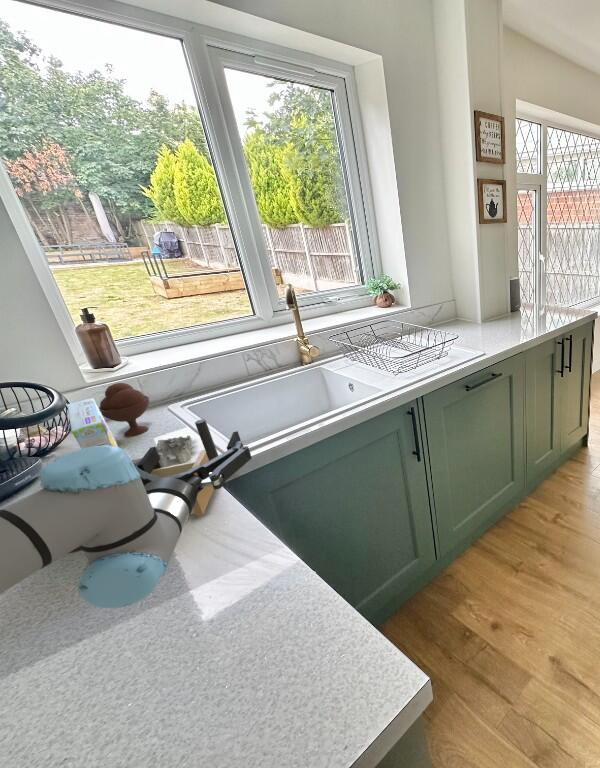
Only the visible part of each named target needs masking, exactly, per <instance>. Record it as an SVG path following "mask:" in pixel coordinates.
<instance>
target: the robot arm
mask: <svg viewBox="0 0 600 768" xmlns="http://www.w3.org/2000/svg"><path fill="white" fill-rule="evenodd" d="M141 458H142V459H141ZM141 458H140V459H141V460H140V461H138V462H136V463H135V464H134V463H133V462H132V460H133V459H131V458H130V457H129V455H128V453H127V452H126V450H124V449H123V448H121V447H119V446H118V447H113V446H109V445H103V446H94V447H89V448H84V449H81V448H80V449H77V450H74V451H71V452H69V453H65V454H64V455H61V456H59V457H57V458H55V459H54V460H53V461H52V462H50V463H48V464H46V465H45V466H44V467H43V468H42V469H41V470H40V472H39V479H40V486H41V487H42V489H40V490H38V491H36V492H34V493H32V494H29V495H28V496H26V497H24V498H21V499H19V500H17V501H15V502H13V503H11V504H8V505H7V506H4V507H3V508H1V509H0V595H2V594H3V593H5V592H6V591H8V590H9V589H11V588H13V587H14V586H16V585H17V584H19V583H21V582H22V581H24V580H25V579H27V578H29V577H30V576H32V575H34V574H35V573H37V572H39V571H40V570H42V569H44V568H45V567H47V566H50V565H51V564H52V563H54V562H56V561H57V560H59V559H61V558H63V557H64V556H66V555H68V554H70V553H69V552H71V551H72V550H74V549H76V548H77V547H80V548H81V552H82V553H83V555H84V557H85V558H86V560H87V562H88V563H87V564H88V565H86V567H84V569H83V572H82V574H81V576H80V578H79V582H78V585H77V586H78V588H77V589H78V595H79V596H80V597H81V599H82V600H83V601H84V602H85V603H87V604H89V605H91V606H93V607H97V608H101V609H111V610H112V609H113V610H114V609H121V608H124V607H129V606H132V605H136V604H138V603H140V602H141V601H143V600H144V599H146V598H147V597H149V596H151V594H152V593H153V591H154V590H155V589H156V587H157V585H158V584H159V582H160V580H161V578H162V577H163V576H164V575H165V573H166V572H167V569H168V565H169V563H170V561H171V558H172V556H173V554H174V551H175V549H176V547H177V544H178V542H179V539H180V537H181V535H182V533H183V531H184V529H185V527H186V524H187V522H188V519H189V517H190V515H192V514H191V512H192V509H193V507H194V505H195V503H196V499H197V494H198V493H199V492H200V491H201V490H202V489H203V488H204V487H209V486H213V488H214V490H220V489H222V487H223V486H224V484H225V483H226V481H227V480H228V479H229V478H231V477H233V475H234V474H236V472H238V471H239V470H240V469H242V468H243V467H244V466H245V465H246V464H247V463H249V461H251V459H252V458H253V457H252V454H251V451H250V449H249V446H247V445H245V446H244V444H243V441H242V440H241V437H240V435H239V431H238V430H236V431H233V432H232V434H231V437H230V439H229V441H228V443H227V445H226V451H224V452H222V453H221V454H218V456H217V457H215V458H214V459H212V460H210V461H209V462H207V463H205V464H203V465H202V466H199V465H197V466H195V467H193V468H191V469H189V470H188V471H186V472H182V473H179V474H173V475H168V476H166V477H159V476H157V475H155V474H154V475H151V474H150V473H151V472H152V470H153V469H154V467H155V466H156V465H157V463H158V462H159V460H160V456H159V454H158V452H157V449H156V446H151V447H149V449H148V450H147V452H146V453H145V454H144V455H143V456H142V457H141ZM196 472H197V475H198V476H196V475H195V473H196ZM67 553H68V554H67Z"/></svg>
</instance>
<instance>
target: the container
mask: <svg viewBox="0 0 600 768" xmlns="http://www.w3.org/2000/svg"><path fill="white" fill-rule="evenodd" d="M194 425H195V427H196V430H197V432H198V435H199V438H200V440H201V443H202V445H203V448H204V449H201V450H200V452H199V454H198V456H197V458H196V460H194V461H189V462H185V463H179V464H173V465H170V466H169V467H164V468H159V469H154V470H152V472H151V473H150V474H151V475H154V474H155V475H157V476H159V477H166V476H168V475H173V474H179V473H182V472H186V471H188V470H189V469H191V468H193V467H195V466H197V465H199V466H202V465H203V464H205V463H207V462H209V461H210V460H212V459H214V458H215V457H217V456H219V453H218V450H217V448H216V445H215V442H214V439H213V437H212V433H211V432H210V427H209V426H208V423H207V420H206V419H203V418H201V419H198V420H196V421H195V422H194ZM195 475H196V476H198V475H197V472H196V473H195ZM214 490H215V489H214V488H213V486H209V487H204V488H203V489H202V490H201V491H200V492H199V493H198V494H197V499H196V503H195V505H194V507H193V509H192V512H191V514H190V515H194V514H195V516H196V517H199V516H203V515H204V514H205V512H206V509H207V507H208V504H209V502H210V500H211V497H212V495H213V492H214Z"/></svg>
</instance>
